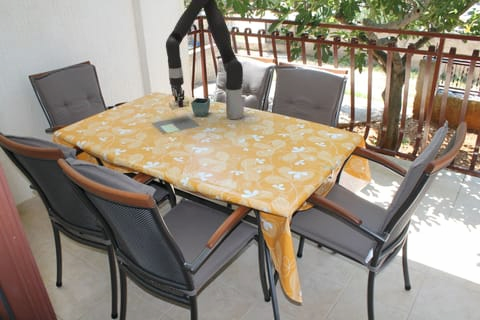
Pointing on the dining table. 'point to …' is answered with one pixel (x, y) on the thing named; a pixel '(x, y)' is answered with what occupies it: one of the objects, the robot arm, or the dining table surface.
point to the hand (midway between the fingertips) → (179, 105)
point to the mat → (175, 124)
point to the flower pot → (200, 106)
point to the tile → (175, 104)
